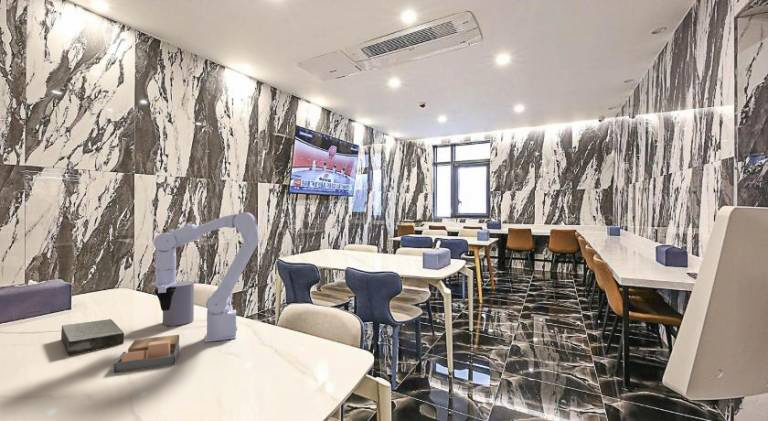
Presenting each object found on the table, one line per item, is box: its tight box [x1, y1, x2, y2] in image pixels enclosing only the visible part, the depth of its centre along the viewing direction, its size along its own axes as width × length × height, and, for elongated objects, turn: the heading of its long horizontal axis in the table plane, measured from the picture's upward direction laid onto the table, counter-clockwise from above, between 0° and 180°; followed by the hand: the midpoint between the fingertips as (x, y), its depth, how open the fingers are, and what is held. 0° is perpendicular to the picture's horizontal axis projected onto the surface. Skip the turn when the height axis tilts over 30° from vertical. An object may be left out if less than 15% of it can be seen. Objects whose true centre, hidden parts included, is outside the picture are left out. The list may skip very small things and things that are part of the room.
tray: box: [113, 344, 180, 374], centre depth 100 cm, size 14×9×2 cm, turn 113°
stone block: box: [60, 318, 125, 357], centre depth 115 cm, size 14×20×5 cm
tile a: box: [148, 340, 170, 359], centre depth 101 cm, size 5×5×2 cm
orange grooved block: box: [127, 334, 180, 353], centre depth 108 cm, size 12×8×3 cm, turn 113°
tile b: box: [121, 350, 148, 362], centre depth 98 cm, size 5×5×2 cm
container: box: [162, 280, 195, 327], centre depth 136 cm, size 10×10×15 cm
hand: (165, 310), depth 116 cm, fingers closed
